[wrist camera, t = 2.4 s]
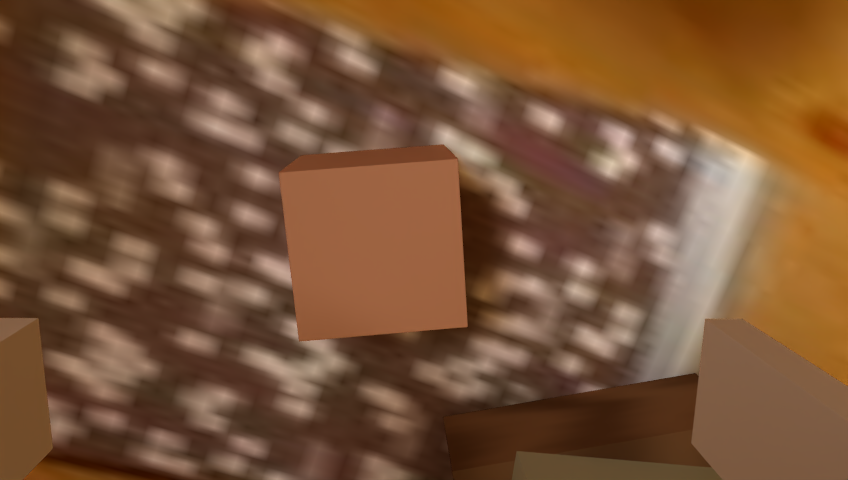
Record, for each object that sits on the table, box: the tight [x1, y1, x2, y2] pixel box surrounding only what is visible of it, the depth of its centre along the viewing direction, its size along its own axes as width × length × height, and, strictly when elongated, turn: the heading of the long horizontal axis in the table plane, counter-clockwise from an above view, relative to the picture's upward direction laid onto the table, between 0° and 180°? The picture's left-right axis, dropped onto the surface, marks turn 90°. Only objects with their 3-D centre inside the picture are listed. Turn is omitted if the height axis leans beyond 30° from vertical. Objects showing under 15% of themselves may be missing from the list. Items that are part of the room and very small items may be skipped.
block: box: [279, 145, 468, 341], centre depth 26 cm, size 6×6×6 cm
